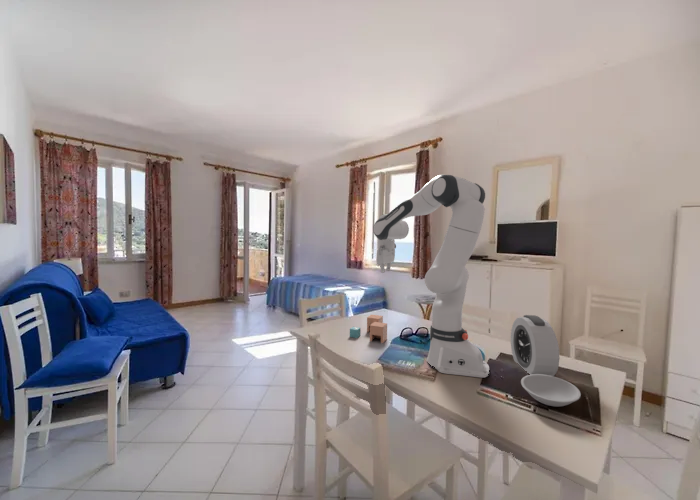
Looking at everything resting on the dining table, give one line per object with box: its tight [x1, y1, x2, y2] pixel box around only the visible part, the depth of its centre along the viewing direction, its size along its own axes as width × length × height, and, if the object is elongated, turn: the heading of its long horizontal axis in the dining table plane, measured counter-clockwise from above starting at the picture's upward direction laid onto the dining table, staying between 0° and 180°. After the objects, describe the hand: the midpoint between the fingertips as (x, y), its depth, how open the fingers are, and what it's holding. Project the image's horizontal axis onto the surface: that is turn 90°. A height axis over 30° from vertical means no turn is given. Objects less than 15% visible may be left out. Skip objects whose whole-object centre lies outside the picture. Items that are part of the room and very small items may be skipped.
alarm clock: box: [510, 314, 560, 377], centre depth 109 cm, size 21×8×20 cm, turn 172°
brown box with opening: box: [369, 322, 388, 344], centre depth 137 cm, size 6×6×8 cm
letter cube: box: [349, 326, 361, 339], centre depth 142 cm, size 4×4×4 cm
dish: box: [520, 374, 582, 408], centre depth 86 cm, size 18×14×5 cm
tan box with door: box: [366, 314, 384, 333], centre depth 151 cm, size 6×6×8 cm
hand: (385, 271), depth 152 cm, fingers open, 8 cm apart
